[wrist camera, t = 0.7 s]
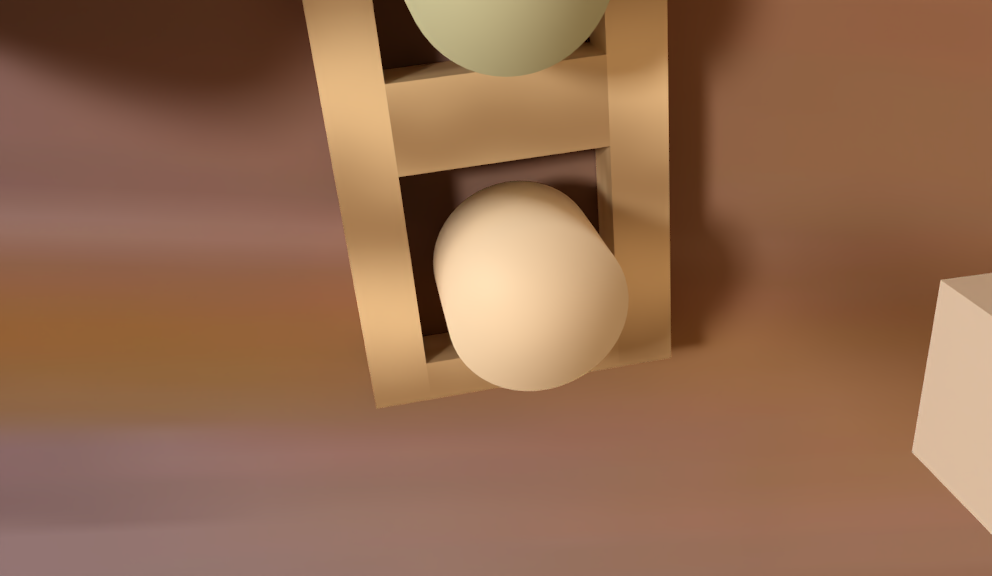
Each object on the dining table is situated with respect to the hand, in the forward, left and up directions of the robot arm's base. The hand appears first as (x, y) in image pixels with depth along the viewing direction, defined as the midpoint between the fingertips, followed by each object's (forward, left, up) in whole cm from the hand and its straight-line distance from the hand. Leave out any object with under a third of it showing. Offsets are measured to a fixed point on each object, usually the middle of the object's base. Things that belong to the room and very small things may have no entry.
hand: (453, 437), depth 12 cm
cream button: (+6, +4, -19) cm, 20 cm away
